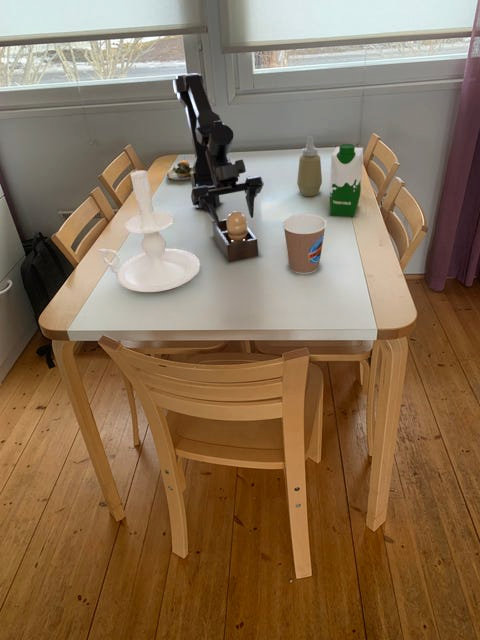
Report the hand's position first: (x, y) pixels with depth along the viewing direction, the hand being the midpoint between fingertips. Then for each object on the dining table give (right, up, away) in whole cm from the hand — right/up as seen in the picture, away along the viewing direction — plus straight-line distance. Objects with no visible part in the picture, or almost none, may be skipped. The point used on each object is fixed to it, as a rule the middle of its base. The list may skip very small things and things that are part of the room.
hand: (235, 220), depth 122 cm
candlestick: (-21, -16, -3) cm, 26 cm away
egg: (+1, -5, +3) cm, 6 cm away
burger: (-20, +27, +54) cm, 64 cm away
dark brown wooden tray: (0, -6, +7) cm, 9 cm away
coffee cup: (+17, -13, -4) cm, 22 cm away
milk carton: (+33, +7, +21) cm, 39 cm away
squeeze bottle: (+24, +16, +34) cm, 44 cm away
